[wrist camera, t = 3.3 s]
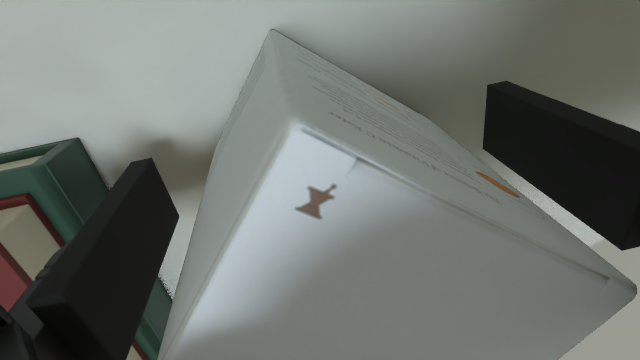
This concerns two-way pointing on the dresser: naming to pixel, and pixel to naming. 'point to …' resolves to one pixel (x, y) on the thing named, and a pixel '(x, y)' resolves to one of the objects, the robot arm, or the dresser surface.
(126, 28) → the dresser surface
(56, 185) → the book stack
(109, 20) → the dresser surface
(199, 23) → the dresser surface
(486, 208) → the small box
